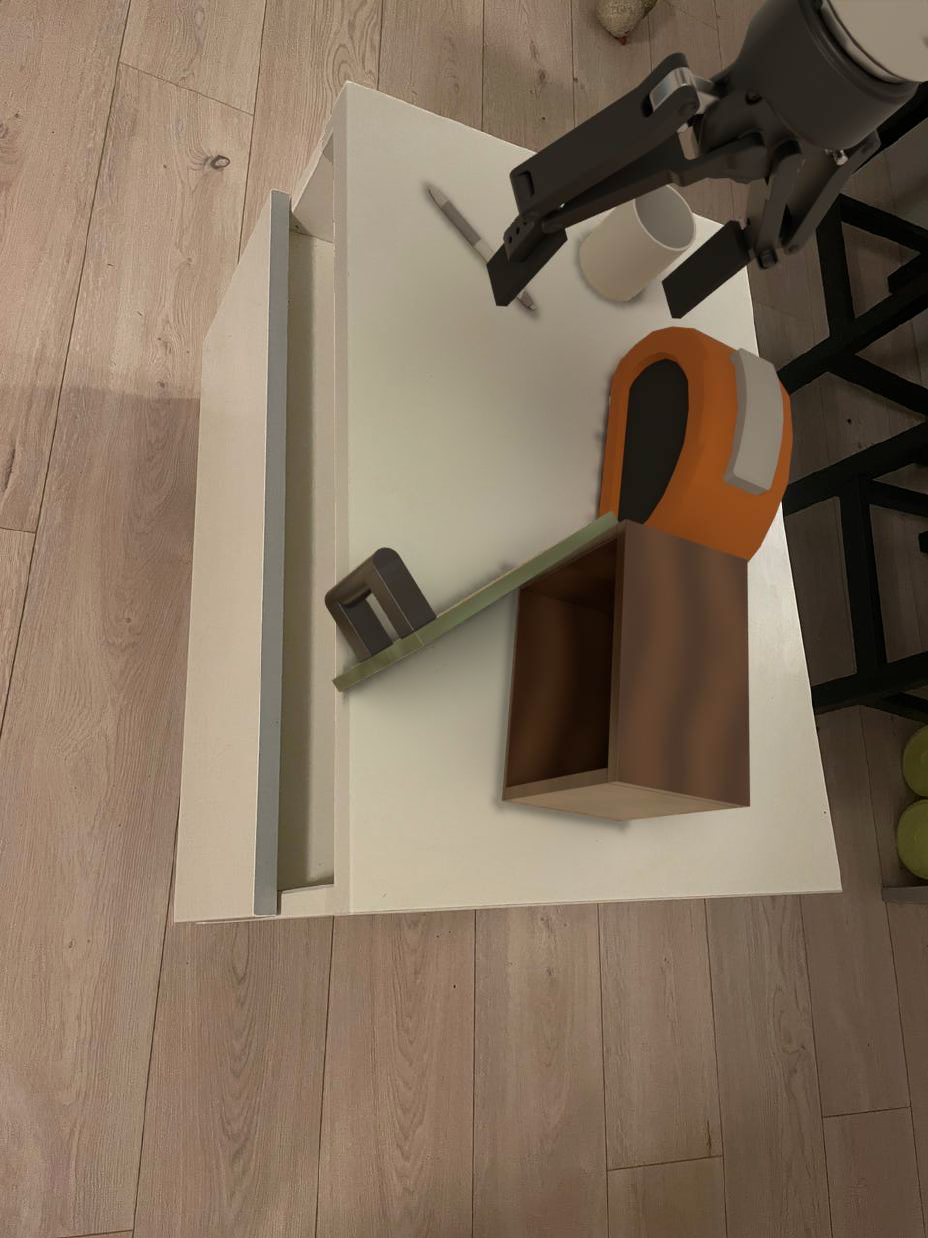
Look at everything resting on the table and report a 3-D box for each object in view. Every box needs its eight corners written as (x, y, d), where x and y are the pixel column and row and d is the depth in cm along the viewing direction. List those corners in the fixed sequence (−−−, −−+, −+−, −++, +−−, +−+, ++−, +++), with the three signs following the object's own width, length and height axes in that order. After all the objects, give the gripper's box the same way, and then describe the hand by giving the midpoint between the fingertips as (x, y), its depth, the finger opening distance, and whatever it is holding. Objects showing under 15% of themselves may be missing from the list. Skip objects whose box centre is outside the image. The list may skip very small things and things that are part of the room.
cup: (572, 286, 88) (629, 228, 80) (581, 204, 91) (637, 142, 84) (633, 316, 91) (694, 263, 83) (640, 236, 94) (699, 178, 86)
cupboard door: (289, 615, 66) (364, 550, 53) (469, 515, 75) (570, 440, 63) (336, 693, 66) (423, 646, 54) (511, 584, 76) (619, 522, 63)
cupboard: (497, 801, 70) (616, 781, 57) (514, 581, 76) (626, 518, 63) (616, 821, 75) (750, 807, 62) (623, 612, 80) (747, 559, 68)
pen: (525, 317, 84) (534, 308, 83) (421, 195, 82) (428, 184, 81) (532, 311, 84) (540, 303, 83) (428, 190, 82) (435, 180, 81)
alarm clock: (603, 365, 87) (728, 262, 73) (678, 400, 90) (811, 308, 76) (580, 593, 79) (715, 527, 65) (663, 623, 82) (809, 566, 68)
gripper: (674, 31, 33) (424, 339, 51) (1058, 136, 45) (747, 354, 63) (622, -142, 34) (396, 218, 52) (1009, 6, 46) (718, 256, 64)
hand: (588, 293), depth 58 cm, fingers open, 13 cm apart
